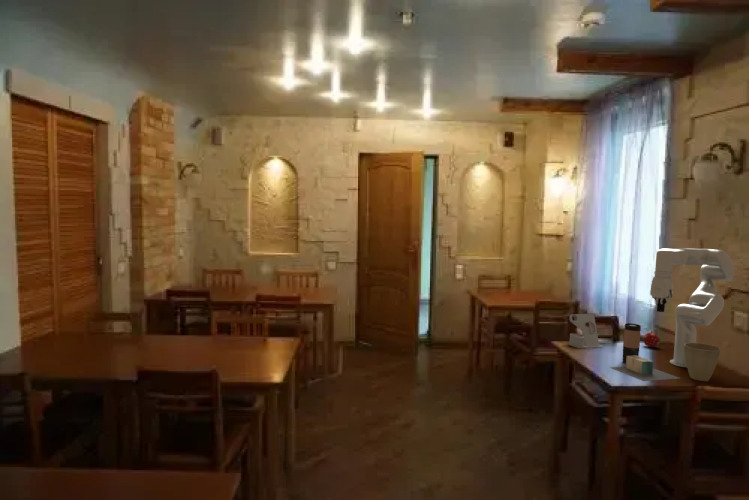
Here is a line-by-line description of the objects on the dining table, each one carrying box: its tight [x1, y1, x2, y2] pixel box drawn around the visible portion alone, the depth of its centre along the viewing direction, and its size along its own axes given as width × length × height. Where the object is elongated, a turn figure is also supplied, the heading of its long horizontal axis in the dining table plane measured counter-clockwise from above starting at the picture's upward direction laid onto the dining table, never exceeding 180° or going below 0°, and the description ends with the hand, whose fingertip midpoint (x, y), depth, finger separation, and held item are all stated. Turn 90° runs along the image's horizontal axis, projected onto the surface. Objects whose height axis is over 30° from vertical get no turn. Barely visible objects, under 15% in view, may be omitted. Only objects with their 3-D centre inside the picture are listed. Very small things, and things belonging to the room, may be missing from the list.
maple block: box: [625, 355, 654, 374], centre depth 273 cm, size 6×6×11 cm
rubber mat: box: [609, 366, 681, 382], centre depth 270 cm, size 22×22×1 cm
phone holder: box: [568, 313, 603, 349], centre depth 324 cm, size 17×10×18 cm, turn 108°
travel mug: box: [622, 322, 642, 365], centre depth 289 cm, size 8×8×20 cm
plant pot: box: [684, 342, 722, 382], centre depth 263 cm, size 15×15×16 cm
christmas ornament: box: [642, 329, 661, 348], centre depth 327 cm, size 9×9×10 cm
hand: (660, 311), depth 278 cm, fingers closed
